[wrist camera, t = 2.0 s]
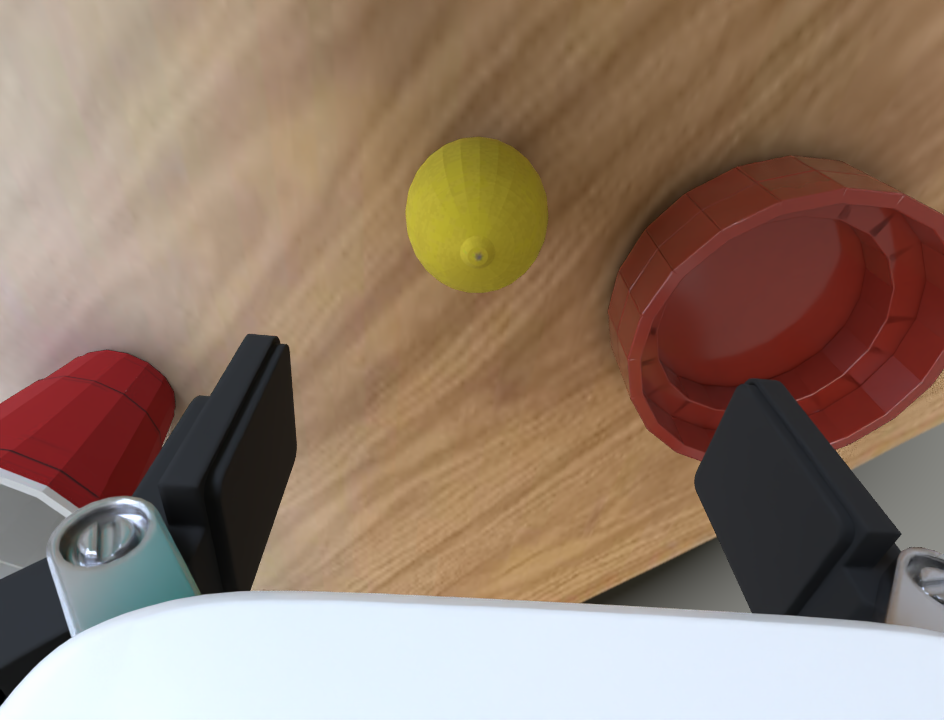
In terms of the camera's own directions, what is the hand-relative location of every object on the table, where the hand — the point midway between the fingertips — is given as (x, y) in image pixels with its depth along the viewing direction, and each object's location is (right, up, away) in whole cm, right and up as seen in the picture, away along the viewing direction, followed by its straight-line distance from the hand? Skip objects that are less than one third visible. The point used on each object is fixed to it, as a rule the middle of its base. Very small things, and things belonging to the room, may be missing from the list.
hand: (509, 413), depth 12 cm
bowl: (+13, +4, +17) cm, 22 cm away
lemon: (-1, +9, +14) cm, 17 cm away
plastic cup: (-20, 0, +20) cm, 29 cm away
